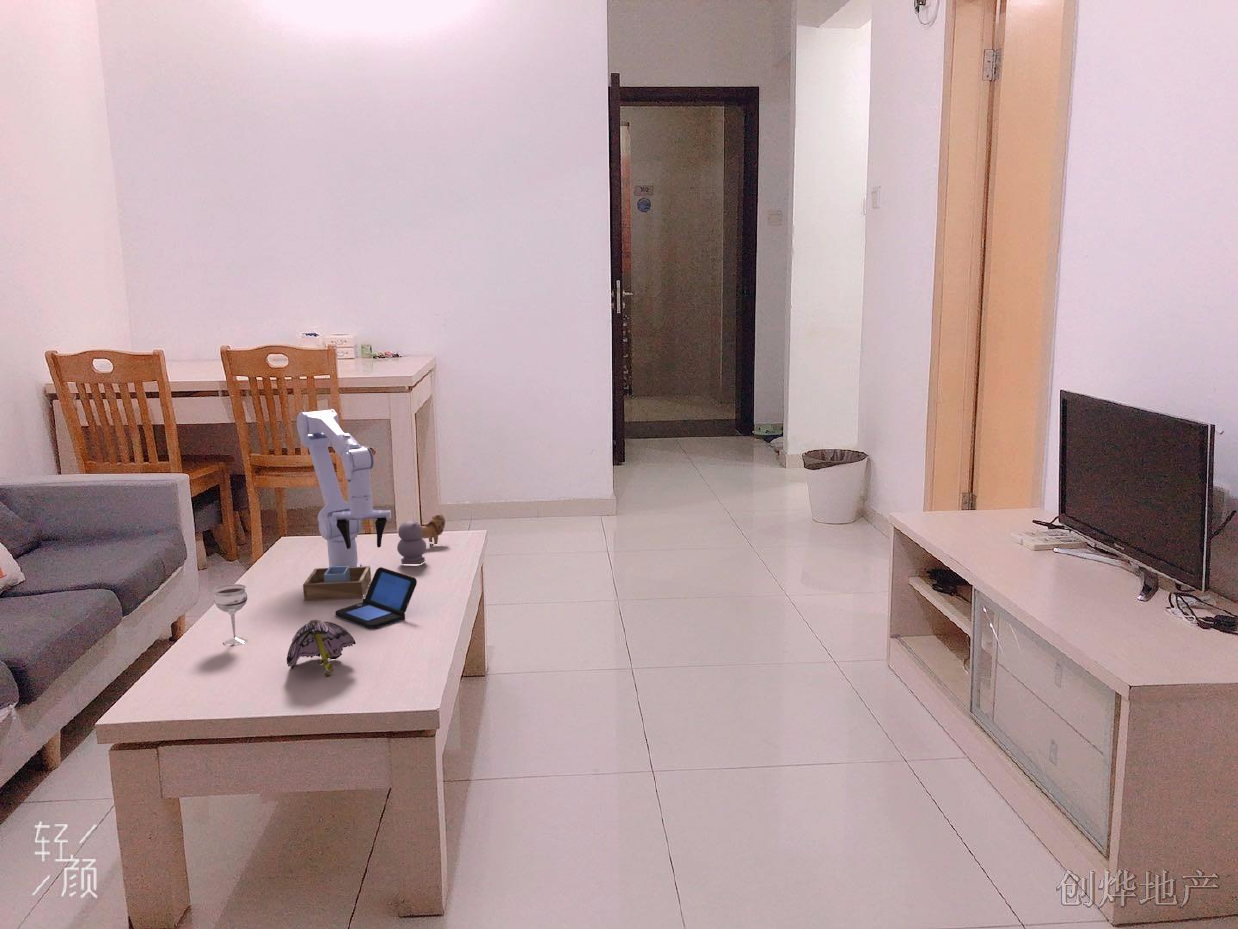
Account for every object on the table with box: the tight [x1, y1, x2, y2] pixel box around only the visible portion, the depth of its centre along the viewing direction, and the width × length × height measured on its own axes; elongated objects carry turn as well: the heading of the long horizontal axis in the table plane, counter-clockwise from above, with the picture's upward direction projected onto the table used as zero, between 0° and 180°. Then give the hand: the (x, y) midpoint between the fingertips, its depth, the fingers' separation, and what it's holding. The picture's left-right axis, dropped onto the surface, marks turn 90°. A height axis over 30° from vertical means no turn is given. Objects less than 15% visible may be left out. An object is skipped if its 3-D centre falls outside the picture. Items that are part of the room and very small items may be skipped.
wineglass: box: [213, 583, 248, 645], centre depth 221 cm, size 7×7×12 cm
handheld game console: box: [334, 566, 418, 630], centre depth 237 cm, size 16×13×9 cm
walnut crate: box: [302, 565, 372, 601], centre depth 257 cm, size 14×14×4 cm
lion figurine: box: [421, 513, 446, 544], centre depth 295 cm, size 15×5×9 cm, turn 133°
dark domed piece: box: [286, 619, 357, 677], centre depth 205 cm, size 15×12×15 cm
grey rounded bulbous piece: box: [396, 518, 427, 564], centre depth 279 cm, size 8×8×12 cm
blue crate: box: [324, 566, 351, 583], centre depth 256 cm, size 7×5×4 cm
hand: (364, 547), depth 261 cm, fingers open, 7 cm apart
